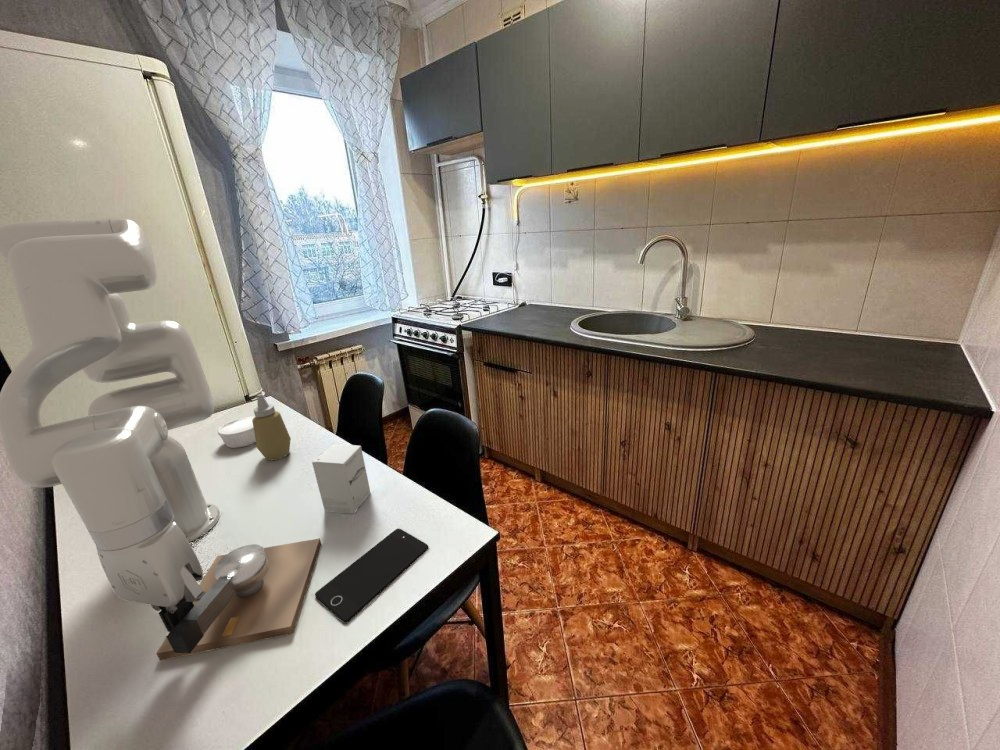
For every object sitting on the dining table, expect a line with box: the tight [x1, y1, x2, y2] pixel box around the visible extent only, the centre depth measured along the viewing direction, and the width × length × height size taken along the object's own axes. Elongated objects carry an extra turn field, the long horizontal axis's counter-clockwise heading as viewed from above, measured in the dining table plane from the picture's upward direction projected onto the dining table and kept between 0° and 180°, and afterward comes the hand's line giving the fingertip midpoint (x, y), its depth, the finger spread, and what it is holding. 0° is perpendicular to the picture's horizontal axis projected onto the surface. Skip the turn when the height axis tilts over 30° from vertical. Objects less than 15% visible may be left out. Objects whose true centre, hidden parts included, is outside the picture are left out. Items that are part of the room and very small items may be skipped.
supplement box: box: [311, 443, 371, 515], centre depth 85 cm, size 7×7×13 cm
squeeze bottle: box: [252, 393, 292, 461], centre depth 104 cm, size 8×8×18 cm
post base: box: [156, 537, 322, 661], centre depth 65 cm, size 18×18×4 cm
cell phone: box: [314, 528, 430, 624], centre depth 69 cm, size 9×18×1 cm, turn 144°
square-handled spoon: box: [165, 543, 269, 655], centre depth 59 cm, size 16×7×3 cm, turn 176°
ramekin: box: [217, 416, 256, 449], centre depth 115 cm, size 11×11×5 cm
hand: (183, 623), depth 56 cm, fingers closed
